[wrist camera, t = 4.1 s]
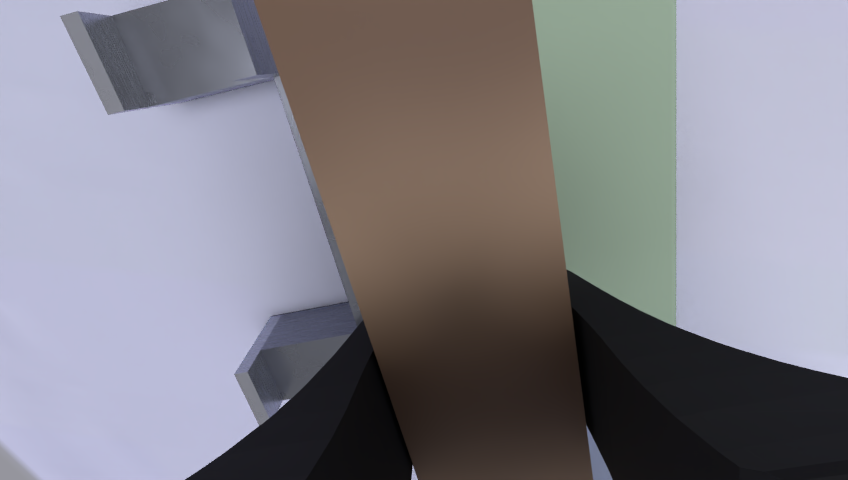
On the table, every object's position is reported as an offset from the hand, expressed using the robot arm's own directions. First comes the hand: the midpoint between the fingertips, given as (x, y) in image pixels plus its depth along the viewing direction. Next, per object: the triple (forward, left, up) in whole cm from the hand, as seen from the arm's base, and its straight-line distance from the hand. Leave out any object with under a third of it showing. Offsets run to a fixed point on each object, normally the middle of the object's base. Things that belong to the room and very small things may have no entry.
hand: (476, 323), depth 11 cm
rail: (0, 0, -1) cm, 1 cm away
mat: (-1, -5, -10) cm, 11 cm away
